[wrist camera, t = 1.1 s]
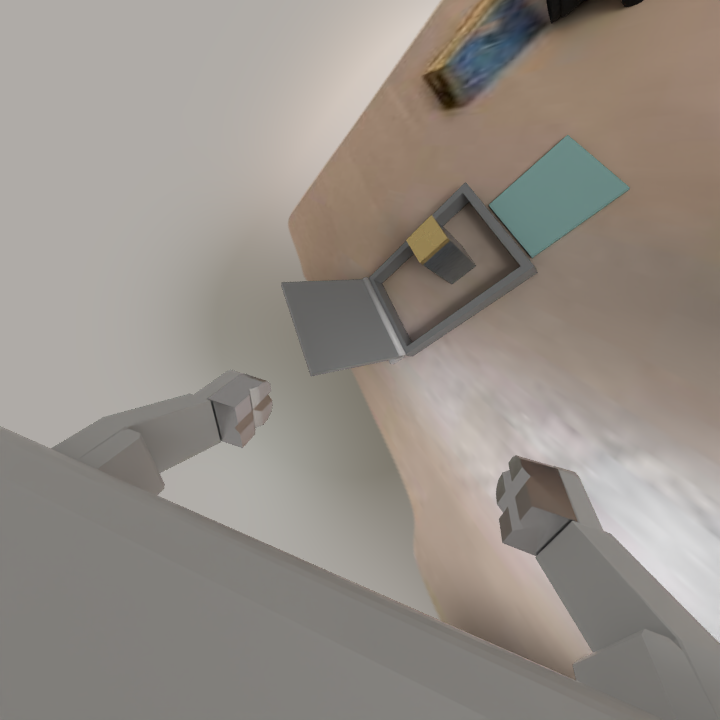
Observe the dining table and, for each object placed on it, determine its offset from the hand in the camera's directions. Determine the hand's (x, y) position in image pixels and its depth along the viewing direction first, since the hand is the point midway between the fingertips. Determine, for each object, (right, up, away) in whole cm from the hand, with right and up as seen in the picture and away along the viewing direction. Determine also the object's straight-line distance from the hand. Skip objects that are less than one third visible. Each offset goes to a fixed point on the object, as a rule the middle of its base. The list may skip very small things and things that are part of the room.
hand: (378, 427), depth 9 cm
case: (+9, +13, +34) cm, 38 cm away
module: (+14, +16, +31) cm, 38 cm away
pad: (+23, +22, +24) cm, 39 cm away
